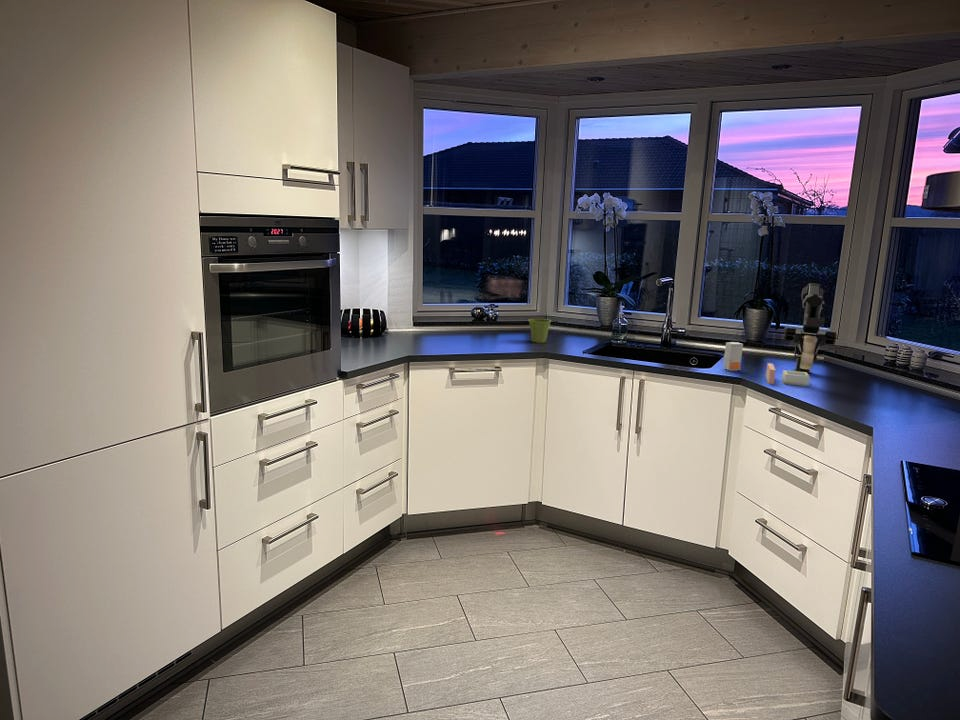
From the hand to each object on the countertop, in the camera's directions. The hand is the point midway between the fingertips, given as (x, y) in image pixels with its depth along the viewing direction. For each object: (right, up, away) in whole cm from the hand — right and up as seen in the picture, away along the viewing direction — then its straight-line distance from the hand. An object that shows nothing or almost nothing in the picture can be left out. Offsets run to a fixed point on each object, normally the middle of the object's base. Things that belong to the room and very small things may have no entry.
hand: (808, 352), depth 269 cm
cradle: (-3, -12, +6) cm, 14 cm away
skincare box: (-20, -7, +28) cm, 35 cm away
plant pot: (-101, +6, +78) cm, 128 cm away
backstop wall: (-12, -11, +9) cm, 19 cm away
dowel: (0, -6, +3) cm, 7 cm away
